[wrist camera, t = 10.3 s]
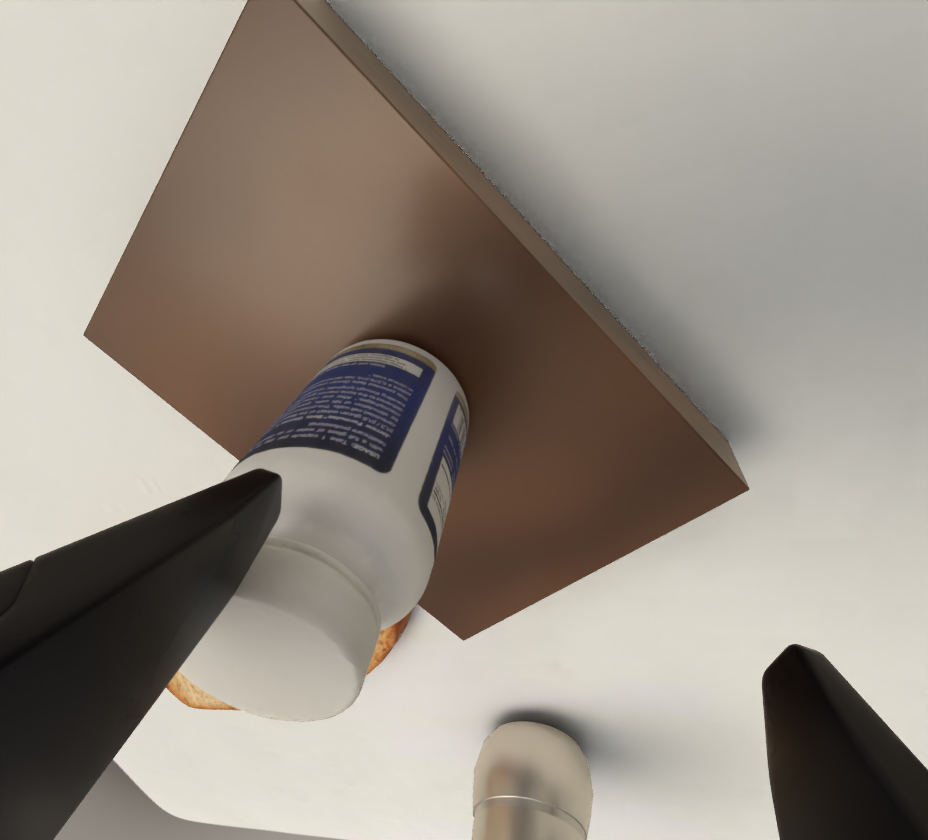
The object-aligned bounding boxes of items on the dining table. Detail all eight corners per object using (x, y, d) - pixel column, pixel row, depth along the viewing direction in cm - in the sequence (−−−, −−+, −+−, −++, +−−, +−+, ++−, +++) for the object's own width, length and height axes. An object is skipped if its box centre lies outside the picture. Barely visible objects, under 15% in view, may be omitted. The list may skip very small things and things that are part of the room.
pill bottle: (289, 394, 18) (69, 629, 10) (393, 301, 16) (215, 509, 8) (396, 493, 20) (282, 766, 12) (503, 422, 17) (457, 702, 9)
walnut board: (728, 441, 19) (750, 489, 17) (475, 590, 26) (463, 641, 24) (317, -8, 15) (263, -35, 12) (140, 310, 22) (82, 335, 19)
